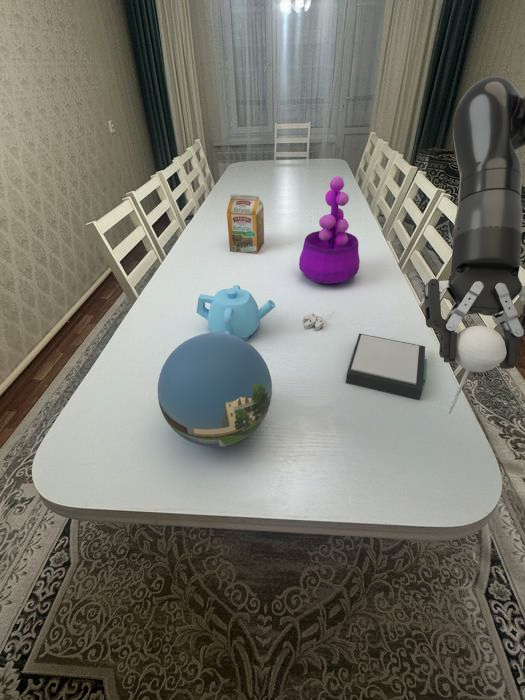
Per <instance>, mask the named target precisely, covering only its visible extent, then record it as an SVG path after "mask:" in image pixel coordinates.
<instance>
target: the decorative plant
mask: <svg viewBox="0 0 525 700" xmlns="http://www.w3.org/2000/svg"><path fill="white" fill-rule="evenodd" d="M329 187H330V189H329V190H328V191H327V192H326V193H325V196H324V197H325V198H324V199H325V203H326V204H327V206H329V207H330V213H328V214H324V215H322V216H321V217H320V218H319V220H318V224H319V227H320V228H321V230H317V231H313V232H311V233H310V232H309V234H307V235H306V236H305V238H304V241H303V245H302V250H301V253H300V256H299V260H298V261H299V262H298V267H299V270H300V271H301V272H302V274H303V275H304V276H305V277H306V278H308V279H309V280H311V281H314V282H317V283H321V284H339V283H344V282H346V281H349V280H350V279H351V278H353V277H354V276H355V275H357V274H358V272H359V269H360V253H359V239H358V237H356V236H355V235H354V234H352V233H349V232H347V231H348V229H349V227H350V226H349V225H350V224H349V222H348V221H347V219H346V218H344V217H345V213H344V210H343V209H342V208H340V207H345V206H346V205H347V204H348V203H349V200H350V197H349V195H348V193H346V192H344V191H342V190H343V189H344V187H345V181H344V179H343V178H342V177H341V176H334V177H332V179H331V180H330V182H329Z"/></svg>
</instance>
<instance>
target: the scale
mask: <svg viewBox="0 0 525 700" xmlns="http://www.w3.org/2000/svg"><path fill="white" fill-rule="evenodd" d="M427 364H428V359H426V346H425V345H422V344H415V343H411V342H405V341H400V340H395V339H390V338H385V337H380V336H374V335H369V334H365V333H358V335H357V339H356V343H355V346H354V349H353V352H352V356H351V359H350V362H349V365H348V368H347V372H346V377H345V384H349V385H354V386H357V387H361V388H366V389H369V390H373V391H379V392H382V393H386V394H390V395H396V396H399V397H403V398H408V399H412V400H417V401H420V399H421V396H422V393H423V391H424V386H425V384H426V382H427V367H428V365H427Z"/></svg>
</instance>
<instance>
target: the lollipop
mask: <svg viewBox="0 0 525 700" xmlns="http://www.w3.org/2000/svg"><path fill="white" fill-rule="evenodd" d="M503 339H504V337H503V335H502V334H500V333H499V332H498V331H497V330H495V329H494V328H492V327H489V326H485V325H471V326H468V327H466V328H464V329H462V330H460V331H459V332H457V344H456V358H455V362H456V364H457V365H458V366H460V367H461V368H462V369H464V370H465V371H464V373H463V375H462V378H461V381H460V383H459V385H458V387H457V390H456V392H455V394H454V396H453V399H452V401H451V403H450V406H449V408H448V410H447V411H446V412H447V414H449V415H451V414H452V412H453V409H454V408H455V405H456V403H457V401H458V399H459V396H460V394H461V392H462V391H463V388H464V385H465V383H466V381H467V378H468V376H469V374H470V372H473V373H483V372H488V371H491V370H493V369H495V368H496V367H497V366H498V365H500V363H501V362H502V361H504V359H505V357H506V353H507V351H506V346H505V342H504V340H503Z"/></svg>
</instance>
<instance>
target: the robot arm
mask: <svg viewBox="0 0 525 700" xmlns="http://www.w3.org/2000/svg"><path fill="white" fill-rule="evenodd" d="M452 138H453V145H454V150H455V151H454V153H455V159H456V164H457V169H458V173H459V185H458V197H457V209H456V215H455V218H454V223H453V230H452V252H451V264H450V265H451V266H450V276H449V278H448V280H439V279H437V278H431V279H430V280H428V281H427V283H425V285H424V286H423V301H424V316H425V319H424V320H425V326H426V327H427V328H430V329H434V330H436V331H437V332H438V333H439V334H440V336H439V351H438V355H439V357H440V358H442V359H443V362H444V363H446V364H453V363H455V362H456V361H455V358H456V344H457V333H458V332H457V331H455V330H456V329H457V328H458V326H459V324H460V323H461V321H462V320H463V318H464V317H465V316H466V315H475V314H478V315H482V316H488V317H491V318H492V320H493V322H494V324H495V325H497V326H498V328H499V330H500V332H501V336H502V338H503V340H504V342H505V346H506V351H507V353H506V357H505V359H504V361H502V362H501V363H500V364H499V368H500V369H502V370H503V369H504V370H510V369H514V368H515V367H516V365H519V363H520V360H521V344H522V343H521V342H522V339H523V337H525V285H523V283H522V282H521V280H520V277H519V272H520V268H521V254H522V253H521V251H522V233H523V208H522V207H523V206H522V185H523V164H522V161H521V158H520V156H519V154H518V152H517V151H518V150H520V149H521V148H524V147H525V95H524V96H523V95H522V94H521V92H519V90H518V89H517V88H516V87H515V85H514V84H513V83H512V82H511V81H510V80H508V78H506V77H503V76H499V75H490V76H486V77H483V78H481V79H479V80H478V81H476V82H475V83H474V84H472V85H471V86H470V87H469V88H468V89H467V90H466V91H465V93H464V94H463V96H462V97H461V99H460V100H459V102H458V104H457V107H456V109H455V112H454V115H453V121H452ZM445 290H446V291H447V293H448V294H449V296H450V297H451V298H452V300H453V301H454V303H453V305H452V307H451V308H450V310H449V312H448V313H447V315H446V318H443V317H442V308H441V307H442V306H441V297H442V296H444V294H445ZM518 296H519V298H520V303H521V304H522V305H523V307H522V312H521V318H520V320H519V312H518V311H517V309H516V306H515V303H514V300H515V299H516V297H518Z"/></svg>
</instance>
